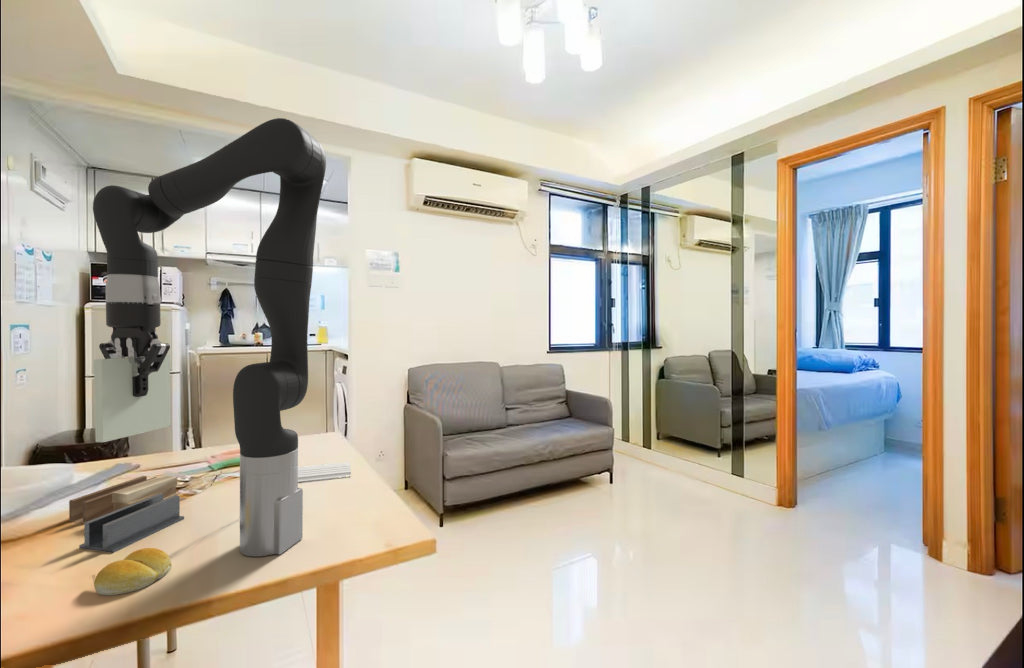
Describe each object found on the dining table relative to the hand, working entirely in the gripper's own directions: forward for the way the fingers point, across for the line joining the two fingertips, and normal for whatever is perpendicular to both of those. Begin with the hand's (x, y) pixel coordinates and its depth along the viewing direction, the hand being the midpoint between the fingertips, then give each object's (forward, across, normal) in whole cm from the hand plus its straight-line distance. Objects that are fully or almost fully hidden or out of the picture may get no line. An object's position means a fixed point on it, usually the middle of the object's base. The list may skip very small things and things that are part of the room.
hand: (135, 395), depth 80 cm
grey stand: (+27, 0, 0) cm, 27 cm away
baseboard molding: (+28, +4, +34) cm, 44 cm away
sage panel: (+7, 0, 0) cm, 7 cm away
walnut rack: (+26, -12, +8) cm, 30 cm away
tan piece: (+25, -7, +8) cm, 27 cm away
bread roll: (+27, +12, -10) cm, 31 cm away
